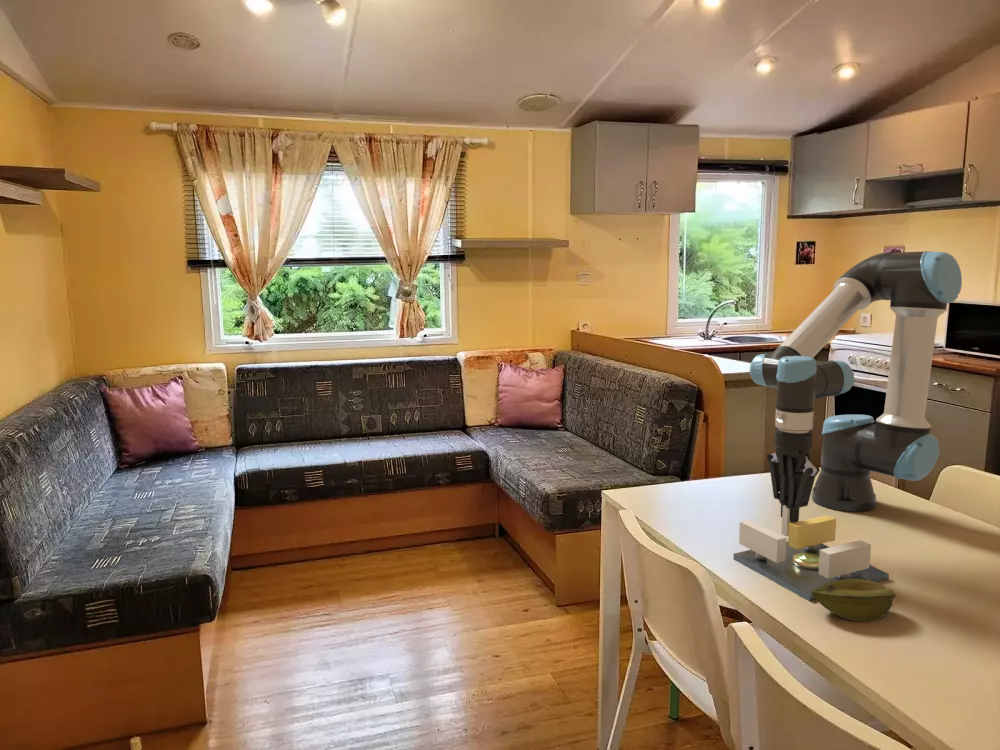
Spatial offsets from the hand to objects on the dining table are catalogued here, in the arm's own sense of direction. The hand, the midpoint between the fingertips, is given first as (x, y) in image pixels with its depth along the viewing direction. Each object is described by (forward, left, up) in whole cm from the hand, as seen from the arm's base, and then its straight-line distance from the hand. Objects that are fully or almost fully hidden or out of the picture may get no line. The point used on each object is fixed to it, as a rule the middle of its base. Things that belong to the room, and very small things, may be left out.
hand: (788, 533), depth 154 cm
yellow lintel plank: (-4, +3, -3) cm, 6 cm away
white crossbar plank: (+9, +2, -3) cm, 10 cm away
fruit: (+9, +25, -5) cm, 27 cm away
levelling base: (+2, +8, -5) cm, 9 cm away
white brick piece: (+1, +16, -3) cm, 16 cm away
